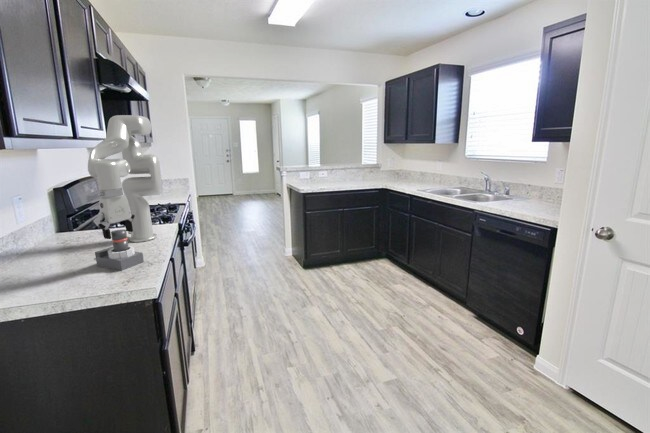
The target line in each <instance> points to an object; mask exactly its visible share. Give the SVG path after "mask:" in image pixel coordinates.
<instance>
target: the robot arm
mask: <svg viewBox="0 0 650 433" xmlns="http://www.w3.org/2000/svg"><path fill="white" fill-rule="evenodd" d="M152 130H153V129H152V123H151V121H150V119H149V118H148V117H147V116H142V115H138V114H136V115H134V114H132V115H131V114H129V115H128V114H126V115H125V114H122V115H121V114H120V115H119V114H117V115H113V116H112V117H110V118H109V120H108V122H107V129H106V136H105V139H104V140H102V141H100V142H98V144H97V145H96V146H94V147H93V148H92V149H91V151H90V153H89V156H88V162H87V172H88V174H89V175H90V176H91V177H92V178H95V179H97V185H98V190H99V192H97V197H99V206H98V207H99V214H98V216H97V217H95V219H93V221H92V222H93V223H94V224H95V225H96V227H98V228H99V229H100V230H101V231H102V236H103V238H104V239H107V240H112V235H111V230H110V228H109V227H110V225H112V224H116V223H121V222H123V221H125V222H124V225H125V230H126V232H127V234H128V235H130V237H129V242H133V243H141V242H147V241H153V240H155V239H156V238H157V237H158V235H157V233H155V232H154V229H153V223H152V217H151V216H152V215H151V210H150V204H149V202H148V200H147V199H145V198H144V197H145V196H146V197H147V196H158V195H160V194H162V192H163V183H162V174H161V166H160V165H161V164H160V160H159V158H158V157H157V156H156V154H152V153H151V154H150V153H149V154H143V152H142V144H141V143H140V142H139V140H138V139H137V138H136V137H134V136H149V135H151V133H152ZM119 153H121V156H122V158H109V157H110V156H114V155H117V154H119ZM148 174H149V175H150V176H132V177H127V176H128V175H148ZM122 178H125V179H123V181H122V180H121V179H122Z"/></svg>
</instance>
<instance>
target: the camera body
mask: <svg viewBox="0 0 650 433" xmlns="http://www.w3.org/2000/svg"><path fill="white" fill-rule="evenodd" d="M128 247H129V250H126V251H121V252H114V248H113V246H110V247H106V248H104V249H100V250H98V251H95V252H94V255H95V261H96V266H97V267H99V268H105V269H111V270H116V271H124V270H127V269H129V268H132V267H134V266H136V265H139V264H141V263H144V262H145V259H144V255H143V252H142V251H140V252H139V251H136V250H135V247H134V245H128Z"/></svg>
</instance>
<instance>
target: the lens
mask: <svg viewBox="0 0 650 433" xmlns="http://www.w3.org/2000/svg"><path fill="white" fill-rule="evenodd" d="M110 233H111V241H112V247H113V248H114V252H121V251H126V250H129V247H128V246H129V241H128V235H127V234H128V232H127V231H126V229H116V230H112V231H110Z"/></svg>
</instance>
